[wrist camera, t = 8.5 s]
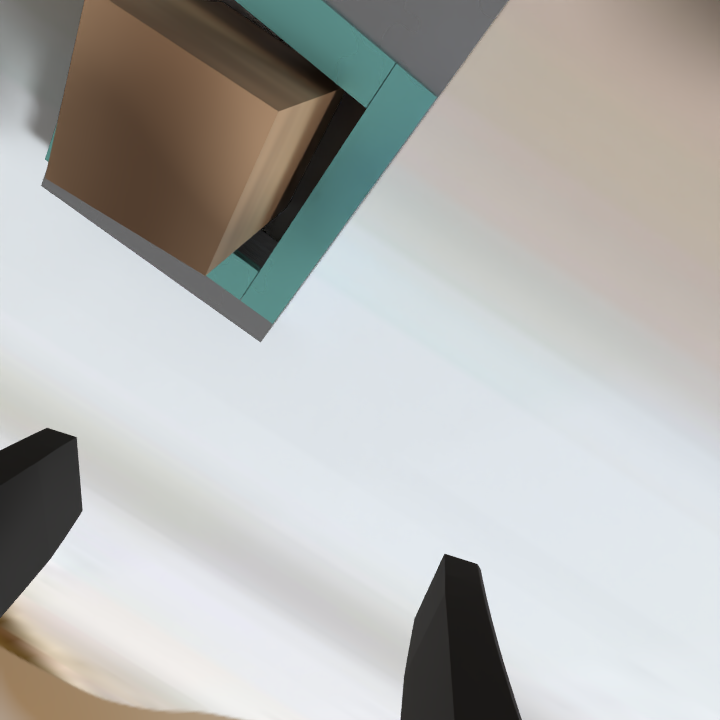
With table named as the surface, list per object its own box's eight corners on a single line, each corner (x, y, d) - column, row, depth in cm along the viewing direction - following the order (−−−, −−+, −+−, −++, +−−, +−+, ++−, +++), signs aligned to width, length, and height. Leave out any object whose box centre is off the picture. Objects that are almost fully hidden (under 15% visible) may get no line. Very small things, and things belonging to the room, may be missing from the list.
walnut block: (347, 86, 16) (278, 111, 10) (287, 206, 18) (205, 276, 13) (222, 2, 15) (87, -14, 10) (176, 135, 17) (45, 178, 12)
